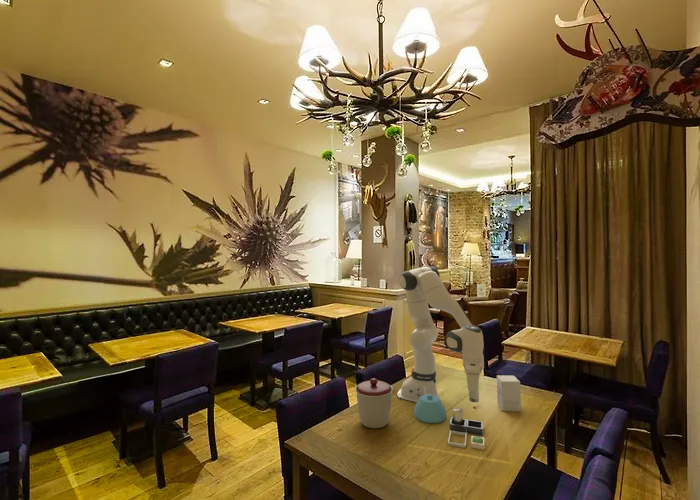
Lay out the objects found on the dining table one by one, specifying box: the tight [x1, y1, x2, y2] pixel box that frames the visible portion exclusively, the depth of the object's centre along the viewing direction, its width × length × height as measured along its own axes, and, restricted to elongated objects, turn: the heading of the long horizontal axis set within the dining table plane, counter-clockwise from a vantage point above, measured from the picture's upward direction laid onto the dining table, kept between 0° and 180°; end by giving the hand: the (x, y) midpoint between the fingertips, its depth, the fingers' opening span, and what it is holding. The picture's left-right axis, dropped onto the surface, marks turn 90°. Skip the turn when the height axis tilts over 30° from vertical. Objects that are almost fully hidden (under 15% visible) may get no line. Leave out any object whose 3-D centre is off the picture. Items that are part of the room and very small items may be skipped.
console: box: [470, 435, 485, 450], centre depth 145 cm, size 5×6×3 cm
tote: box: [447, 429, 468, 449], centre depth 149 cm, size 7×10×2 cm
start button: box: [473, 435, 483, 444], centre depth 145 cm, size 3×3×3 cm
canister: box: [354, 377, 394, 429], centre depth 167 cm, size 18×18×21 cm
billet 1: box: [452, 406, 464, 425], centre depth 159 cm, size 4×4×8 cm
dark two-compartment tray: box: [449, 416, 484, 437], centre depth 158 cm, size 14×8×4 cm, turn 69°
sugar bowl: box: [413, 394, 447, 424], centre depth 170 cm, size 15×15×12 cm
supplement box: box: [496, 374, 522, 412], centre depth 180 cm, size 9×9×15 cm
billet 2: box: [468, 383, 480, 403], centre depth 156 cm, size 4×4×8 cm
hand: (473, 394), depth 156 cm, fingers closed on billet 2, 4 cm apart
